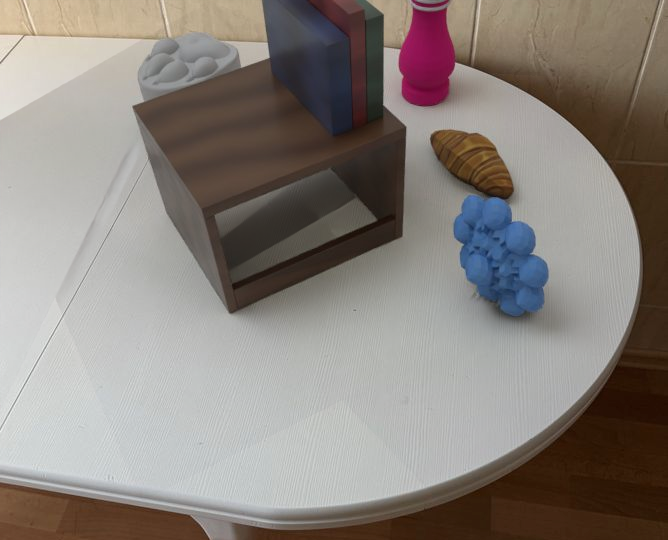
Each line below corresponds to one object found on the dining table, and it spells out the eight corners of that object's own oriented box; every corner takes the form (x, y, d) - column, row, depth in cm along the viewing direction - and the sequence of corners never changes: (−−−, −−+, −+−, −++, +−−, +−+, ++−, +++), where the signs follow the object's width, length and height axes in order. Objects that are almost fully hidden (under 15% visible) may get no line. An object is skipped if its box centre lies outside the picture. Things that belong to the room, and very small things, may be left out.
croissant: (410, 155, 86) (411, 120, 82) (453, 133, 88) (456, 98, 84) (485, 215, 79) (490, 180, 75) (530, 191, 81) (537, 155, 77)
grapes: (420, 285, 73) (426, 196, 63) (467, 254, 75) (480, 164, 66) (503, 354, 67) (523, 267, 57) (551, 319, 69) (579, 229, 60)
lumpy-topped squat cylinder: (257, 102, 94) (247, 40, 87) (185, 151, 88) (168, 89, 81) (204, 76, 98) (191, 15, 91) (132, 121, 93) (112, 60, 86)
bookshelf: (166, 212, 82) (96, -5, 62) (324, 150, 87) (307, -69, 67) (229, 314, 72) (171, 95, 52) (402, 236, 77) (411, 11, 57)
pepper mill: (386, 92, 94) (387, -69, 78) (424, 70, 96) (433, -90, 80) (425, 115, 90) (435, -49, 74) (463, 91, 93) (481, -72, 77)
